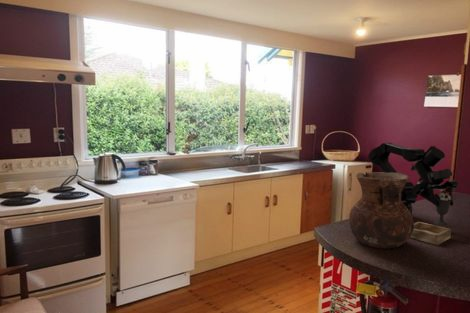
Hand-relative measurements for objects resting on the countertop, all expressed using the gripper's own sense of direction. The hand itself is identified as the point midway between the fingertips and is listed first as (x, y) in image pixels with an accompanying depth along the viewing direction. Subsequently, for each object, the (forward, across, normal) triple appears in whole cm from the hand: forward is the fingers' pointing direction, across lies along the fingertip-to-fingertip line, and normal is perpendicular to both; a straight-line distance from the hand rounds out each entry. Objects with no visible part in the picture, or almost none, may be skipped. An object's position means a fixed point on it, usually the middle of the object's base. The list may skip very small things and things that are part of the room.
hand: (445, 205), depth 144 cm
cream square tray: (+10, -11, +5) cm, 16 cm away
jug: (+11, -33, +4) cm, 35 cm away
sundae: (+5, 0, +6) cm, 8 cm away
